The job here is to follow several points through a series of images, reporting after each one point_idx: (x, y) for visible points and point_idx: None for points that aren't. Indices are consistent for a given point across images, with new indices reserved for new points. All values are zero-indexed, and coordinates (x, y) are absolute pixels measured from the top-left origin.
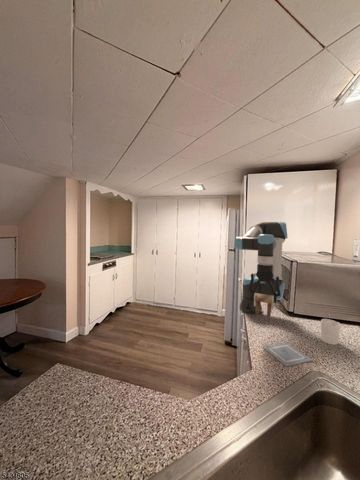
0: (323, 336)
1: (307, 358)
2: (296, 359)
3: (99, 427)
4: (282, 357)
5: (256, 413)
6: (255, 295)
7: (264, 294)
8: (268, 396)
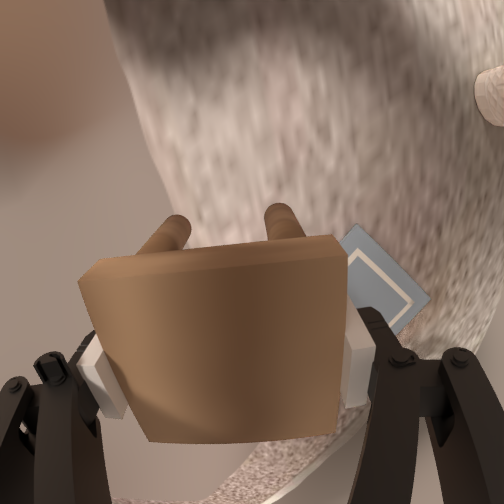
0: (493, 111)
1: (419, 299)
2: None
3: None
4: None
5: (295, 483)
6: (125, 407)
7: (197, 278)
8: (309, 460)
